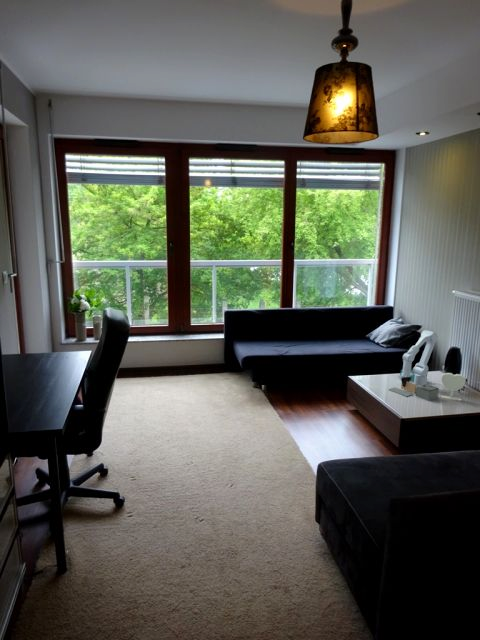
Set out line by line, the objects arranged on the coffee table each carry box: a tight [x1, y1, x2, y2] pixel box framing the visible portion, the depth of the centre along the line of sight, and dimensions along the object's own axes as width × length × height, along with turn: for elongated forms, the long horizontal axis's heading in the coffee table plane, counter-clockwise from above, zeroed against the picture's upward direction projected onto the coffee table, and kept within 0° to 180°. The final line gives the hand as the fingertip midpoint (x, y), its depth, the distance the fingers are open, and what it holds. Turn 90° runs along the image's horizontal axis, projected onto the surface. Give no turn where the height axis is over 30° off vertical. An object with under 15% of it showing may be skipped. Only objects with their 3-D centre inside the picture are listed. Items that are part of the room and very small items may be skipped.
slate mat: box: [388, 387, 414, 398], centre depth 335 cm, size 8×16×1 cm, turn 34°
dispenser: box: [415, 383, 439, 401], centre depth 327 cm, size 11×11×8 cm
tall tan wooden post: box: [400, 381, 417, 394], centre depth 339 cm, size 2×12×6 cm, turn 34°
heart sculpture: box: [440, 372, 466, 401], centre depth 326 cm, size 16×5×18 cm, turn 64°
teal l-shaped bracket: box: [399, 369, 428, 383], centre depth 366 cm, size 18×11×10 cm, turn 17°
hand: (404, 386), depth 342 cm, fingers closed on tall tan wooden post, 2 cm apart
